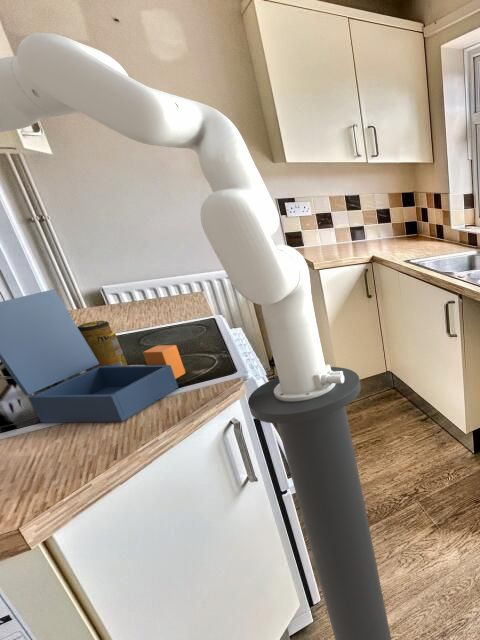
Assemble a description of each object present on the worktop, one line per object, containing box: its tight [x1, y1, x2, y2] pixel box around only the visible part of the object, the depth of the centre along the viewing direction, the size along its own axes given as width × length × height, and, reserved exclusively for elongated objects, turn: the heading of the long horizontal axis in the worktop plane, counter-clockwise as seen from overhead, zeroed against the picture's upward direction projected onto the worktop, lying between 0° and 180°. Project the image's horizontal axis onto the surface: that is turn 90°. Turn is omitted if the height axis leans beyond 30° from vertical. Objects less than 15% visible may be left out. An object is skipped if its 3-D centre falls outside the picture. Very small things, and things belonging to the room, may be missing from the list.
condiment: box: [77, 320, 144, 370], centre depth 96 cm, size 7×8×12 cm
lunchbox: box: [28, 364, 179, 424], centre depth 83 cm, size 16×14×5 cm
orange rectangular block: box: [142, 344, 186, 380], centre depth 94 cm, size 4×4×7 cm
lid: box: [0, 288, 99, 396], centre depth 79 cm, size 16×14×5 cm
